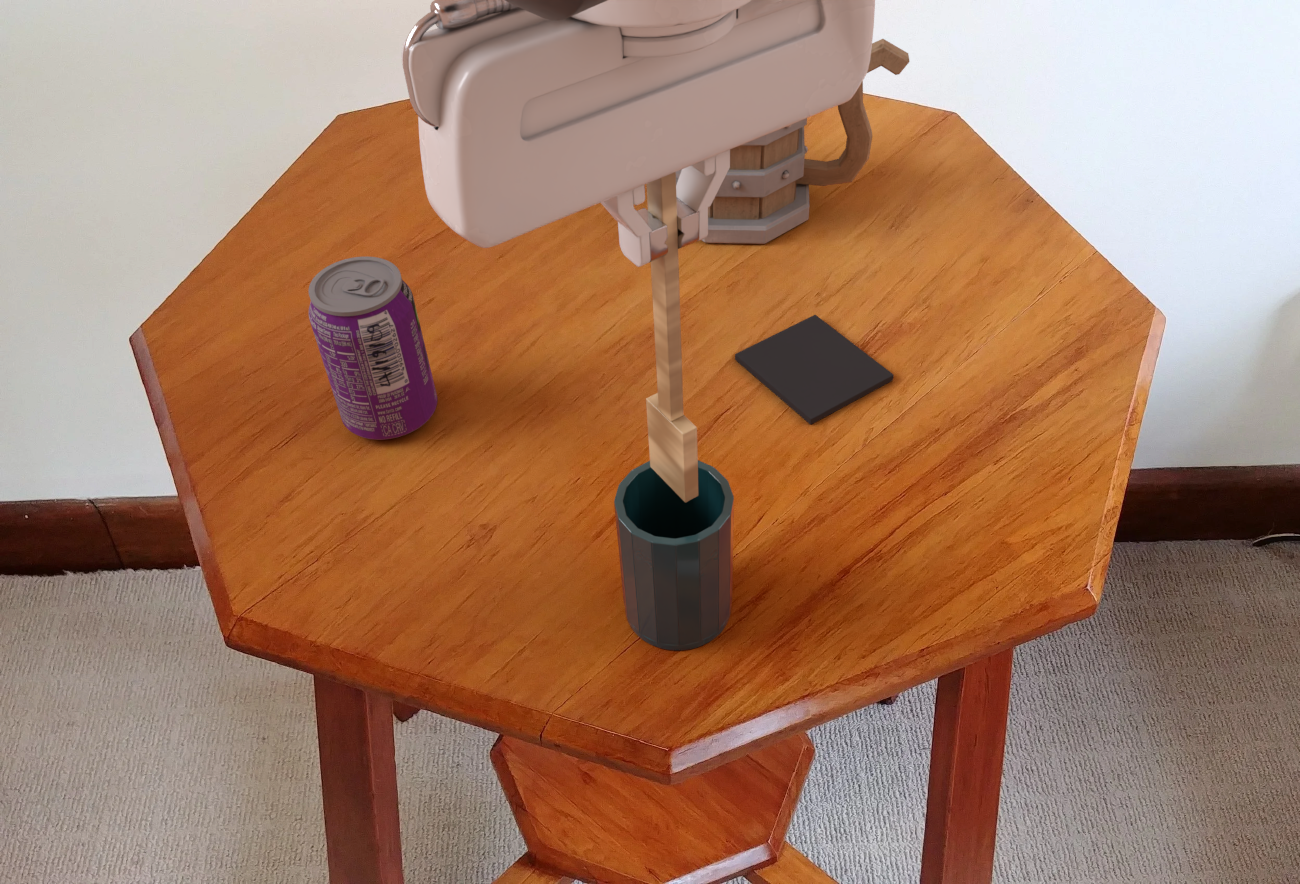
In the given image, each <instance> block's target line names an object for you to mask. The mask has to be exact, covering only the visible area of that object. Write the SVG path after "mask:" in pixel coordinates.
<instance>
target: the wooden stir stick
mask: <svg viewBox="0 0 1300 884" xmlns="http://www.w3.org/2000/svg"><path fill="white" fill-rule="evenodd" d="M645 185H646V200H647V201H646V202H647V210H648V211H649V212H650V213H651V214H653V218H657V219H659V220H660V221H662V222H663V223H665V224H666V225H667V234H668V238H667V240H666V242H665V244H666V245H667V246H668V253H667V255H665V256H663V257H661V258H659V259H656V260H654V261H652V262H650V276H651V297H652V313H653V331H654V333H653V334H654V351H655V368H656V369H655V370H656V387H657V392H656V393H654V394H652V395H650V396H647V397H646V398H645V403H646V404H645V406H646V421H647V437H648V438H647V439H648V453H649V455H648V456H649V461H650V467H651V468H652V469H653V470H654V471H655V472H656V473H657V474H658V475H659V476H660V477H661V478H662V479H663V480H664V481H665V482H666V483H667V484H668V485H669V486H670V487H671V488H672V489H673V490H674V492H675V493H676V494H677V495H678V496H679V497H680V498H681V499H682V500H683V501H684V502H685V503H686V502H688V501H690V500H691V499H693V498H695V497H697V496H698V460H699V457H698V451H699V450H698V427H697V425H695V424H694V423H693V422H692V421H691V420H690V419H689V418H688V417H687V416H686V415H685V414H684V412H685V411H684V386H683V383H684V382H683V357H682V355H683V353H682V351H683V350H682V329H681V328H682V326H681V325H682V323H681V294H680V289H681V288H680V262H679V261H680V259H679V249H678V228H677V197H676V172H674V173H672V174H669V175H667V176H664V177H662V178H660V179H657V180H655V181H652V182H650V183H647V184H645Z"/></svg>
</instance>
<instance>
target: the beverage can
mask: <svg viewBox="0 0 1300 884" xmlns="http://www.w3.org/2000/svg"><path fill="white" fill-rule="evenodd" d="M308 285H309V286H308V296H309V299H310V303H309V306H308V319H309V323H310V326H311V329H312V332H313V336H314V338H315V341H316V345H317V347H318V350H319V351H318V352H319V354H320V357H321V359H322V363H323V367H324V369H325V373H326V375H327V379H328V382H329V384H330V388H331V391H332V394H333V397H334V400H335V403H336V406H337V409H338V413H339V417H340V419H341V422H342V424H343V425H344V427H345V428H346V429H347V430H348V431H350V432H351V433H352V434H354V435H356V436H359V437H361V438H364V439H368V440H391V439H396V438H399V437H403V436H406V435H408V434H411V433H412V432H413V433H414V431H416V430H418V429H420V428H421V427H422V426H423V425H425V424H426V423H427V422H428V421H429V420H430V419H431V417H432V416H433V415H434V413H435V411H436V408H437V405H438V394H437V393H438V392H437V390H436V385H435V381H434V377H433V374H432V369H431V365H430V361H429V356H428V352H427V348H426V343H425V339H424V336H423V331H422V327H421V322H420V319H419V316H418V310H417V306H416V301H415V298H414V294H413V292H412V289H411V288H410V287H409V285H408V284H407V283H406V282H405V281H404V280H403V278H402V273H401V271H400V269H399V267H397V266H396V265H395V263H393V262H391V261H389V260H387V259H384V258H381V257H376V256H355V257H349V258H344V259H341V260H339V261H336V262H333V263H331V264H329V265H328V266H325V267H324V268H323V269H321V270H320V271H319V272H318V273H317V274H316V275H315V276H314V277H312V280H311V281H310V283H309V284H308Z"/></svg>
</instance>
